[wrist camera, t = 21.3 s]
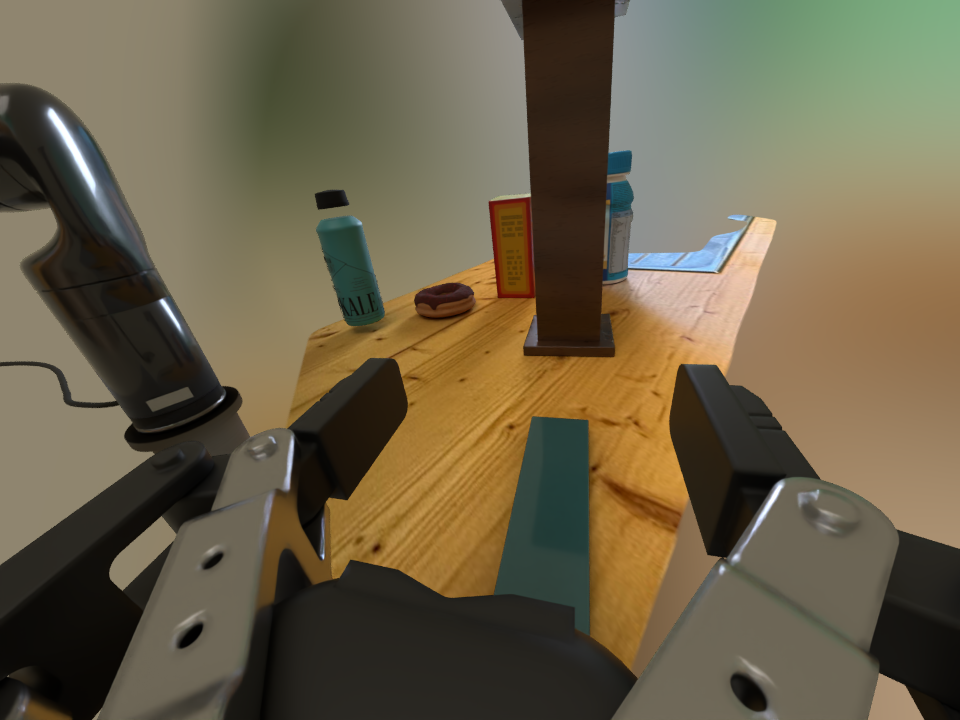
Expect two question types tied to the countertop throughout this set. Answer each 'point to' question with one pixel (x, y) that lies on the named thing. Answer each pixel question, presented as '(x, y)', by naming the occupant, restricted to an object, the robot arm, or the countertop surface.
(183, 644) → the robot arm
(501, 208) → the baking soda box
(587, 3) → the stand
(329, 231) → the beverage bottle
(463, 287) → the donut
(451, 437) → the countertop surface
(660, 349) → the countertop surface
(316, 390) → the countertop surface
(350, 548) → the countertop surface
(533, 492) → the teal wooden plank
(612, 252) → the beverage bottle
